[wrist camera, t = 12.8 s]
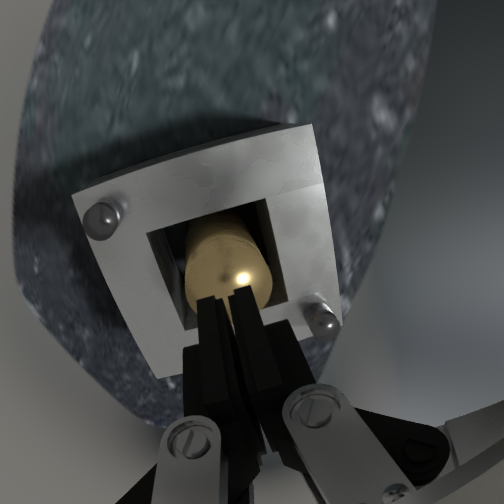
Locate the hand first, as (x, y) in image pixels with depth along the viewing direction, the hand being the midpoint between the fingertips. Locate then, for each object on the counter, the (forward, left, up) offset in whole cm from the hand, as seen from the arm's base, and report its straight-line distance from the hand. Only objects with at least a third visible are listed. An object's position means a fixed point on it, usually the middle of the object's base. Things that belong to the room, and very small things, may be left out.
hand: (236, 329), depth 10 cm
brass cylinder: (+1, 0, -12) cm, 12 cm away
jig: (+1, 0, -12) cm, 12 cm away
